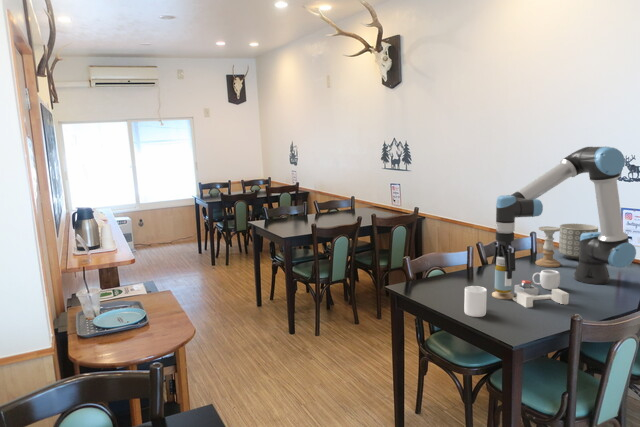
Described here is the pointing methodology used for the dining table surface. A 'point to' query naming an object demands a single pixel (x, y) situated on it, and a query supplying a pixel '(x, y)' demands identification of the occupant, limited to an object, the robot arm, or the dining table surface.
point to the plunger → (526, 284)
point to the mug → (549, 279)
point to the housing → (538, 296)
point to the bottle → (501, 276)
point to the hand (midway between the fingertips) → (503, 283)
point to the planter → (573, 238)
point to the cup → (475, 301)
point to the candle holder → (548, 248)
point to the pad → (502, 295)
